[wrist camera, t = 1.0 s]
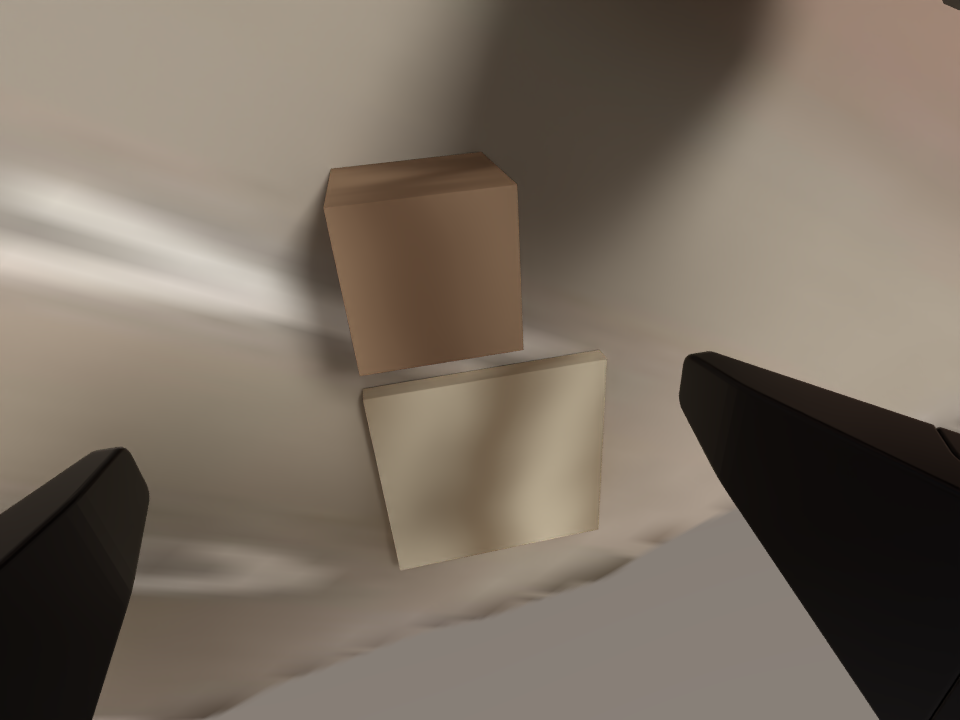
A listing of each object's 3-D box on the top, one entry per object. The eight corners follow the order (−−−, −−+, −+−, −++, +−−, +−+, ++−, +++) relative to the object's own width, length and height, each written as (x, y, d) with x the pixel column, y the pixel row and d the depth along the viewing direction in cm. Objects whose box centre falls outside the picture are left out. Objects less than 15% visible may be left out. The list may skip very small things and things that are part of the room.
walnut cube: (480, 151, 19) (517, 184, 15) (490, 287, 21) (523, 349, 17) (331, 168, 18) (323, 207, 14) (359, 306, 21) (359, 376, 17)
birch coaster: (599, 349, 24) (606, 359, 23) (592, 517, 29) (598, 529, 28) (362, 388, 22) (362, 399, 22) (399, 557, 27) (400, 570, 27)
